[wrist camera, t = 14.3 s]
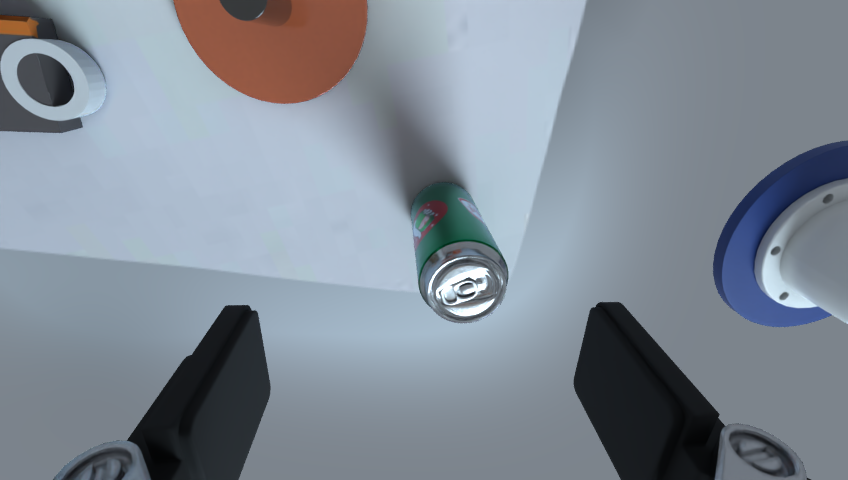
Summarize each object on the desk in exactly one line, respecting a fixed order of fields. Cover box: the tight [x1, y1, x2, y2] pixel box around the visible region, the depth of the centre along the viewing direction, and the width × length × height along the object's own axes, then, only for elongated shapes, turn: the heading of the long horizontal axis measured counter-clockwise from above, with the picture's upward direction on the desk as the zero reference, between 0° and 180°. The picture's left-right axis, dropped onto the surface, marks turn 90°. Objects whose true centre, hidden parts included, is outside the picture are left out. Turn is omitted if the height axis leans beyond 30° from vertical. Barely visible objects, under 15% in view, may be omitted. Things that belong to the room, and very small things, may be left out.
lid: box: [173, 0, 368, 104], centre depth 23 cm, size 12×12×7 cm
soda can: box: [411, 182, 508, 323], centre depth 27 cm, size 5×5×12 cm
